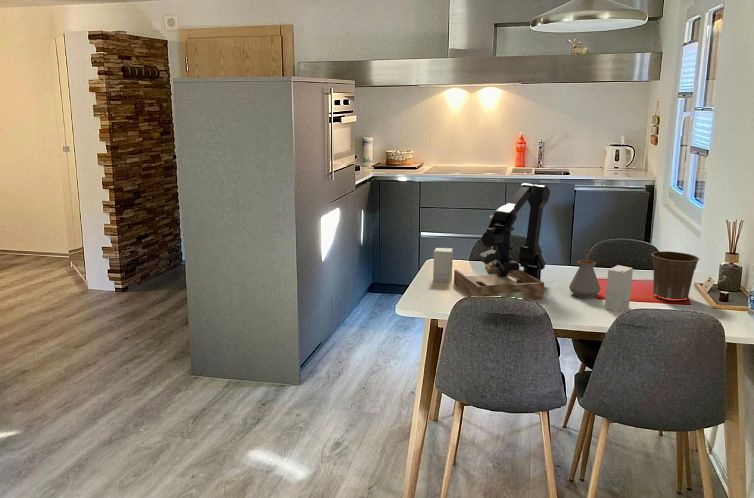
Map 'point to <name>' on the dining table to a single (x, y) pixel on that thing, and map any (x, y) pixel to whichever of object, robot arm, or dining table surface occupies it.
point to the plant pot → (673, 274)
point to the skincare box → (618, 288)
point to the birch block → (504, 280)
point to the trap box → (486, 285)
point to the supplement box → (443, 264)
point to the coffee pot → (585, 279)
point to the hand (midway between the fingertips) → (500, 283)
